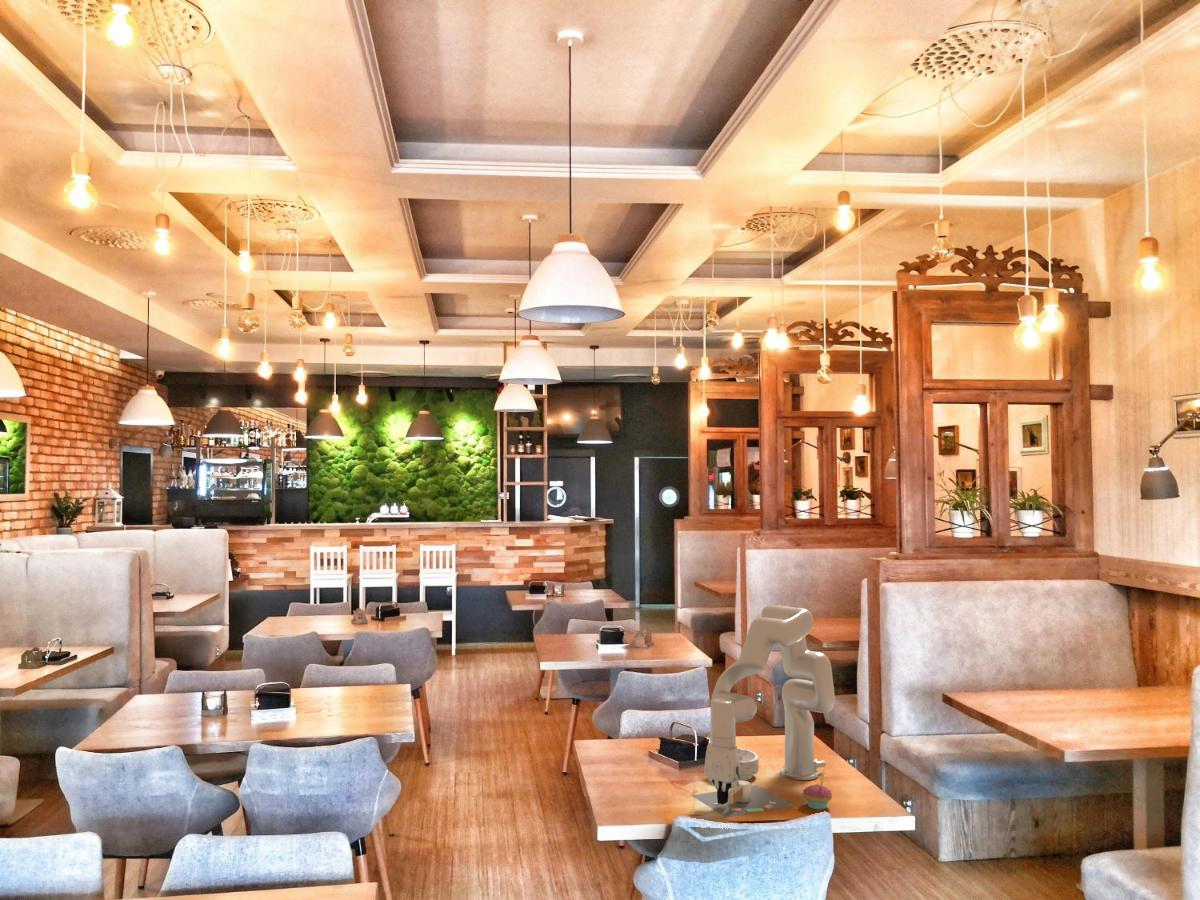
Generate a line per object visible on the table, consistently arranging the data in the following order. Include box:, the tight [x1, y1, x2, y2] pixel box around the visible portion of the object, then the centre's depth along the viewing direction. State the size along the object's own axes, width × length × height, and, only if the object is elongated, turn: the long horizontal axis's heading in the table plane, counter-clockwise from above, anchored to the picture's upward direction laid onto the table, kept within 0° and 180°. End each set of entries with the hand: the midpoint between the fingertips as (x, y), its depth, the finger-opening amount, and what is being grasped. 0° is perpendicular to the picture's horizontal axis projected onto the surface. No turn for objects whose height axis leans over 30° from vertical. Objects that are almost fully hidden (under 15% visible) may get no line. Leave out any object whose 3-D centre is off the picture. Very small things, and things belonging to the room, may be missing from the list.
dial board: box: [691, 785, 795, 818], centre depth 281 cm, size 24×20×1 cm
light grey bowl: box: [737, 747, 760, 781], centre depth 305 cm, size 15×15×8 cm
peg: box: [729, 780, 752, 804], centre depth 278 cm, size 13×5×5 cm, turn 153°
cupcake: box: [802, 769, 833, 810], centre depth 277 cm, size 9×8×12 cm
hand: (722, 802), depth 276 cm, fingers closed
